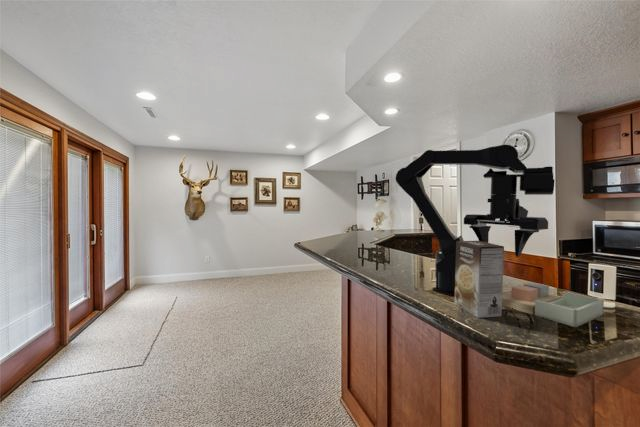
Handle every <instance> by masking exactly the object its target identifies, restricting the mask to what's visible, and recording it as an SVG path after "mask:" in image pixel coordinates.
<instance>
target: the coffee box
mask: <svg viewBox="0 0 640 427" xmlns="http://www.w3.org/2000/svg"><path fill="white" fill-rule="evenodd" d="M504 251H505V246H504V245H501V244H500V245H499V244H496V243H495V244H494V243H490V242H488V243H487V242H482V241H479V240H464V241H456V268H455V295H454V302H453V303H454V305H455V306H456V307H459V308H461V309H462V310H464V311H466V312H467V313H469V314H471V315H472V316H474V317H475V318H478V319H479V318H494V317H495V318H496V317H502V310H503V308H502V307H503V306H502V293H503V287H504V286H503V282H504V257H505V252H504Z"/></svg>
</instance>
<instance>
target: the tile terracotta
mask: <svg viewBox="0 0 640 427" xmlns="http://www.w3.org/2000/svg"><path fill="white" fill-rule="evenodd" d="M511 291H512V293H511V297H513V298H517V299H521V300H525V301H528V302H530V301H533V300H536V299H538V289H536V288H532V287H527V286H523V284H519V285H515V286H511Z"/></svg>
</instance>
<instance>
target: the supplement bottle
mask: <svg viewBox="0 0 640 427" xmlns="http://www.w3.org/2000/svg"><path fill="white" fill-rule="evenodd" d="M438 249H439V250H436V252H435V263H434V264H435V266H434V268H435V269H434V276H435V278H436V264H437V263H438V262H439V261H440V260H441V259H442V258H444V257H443V254H442V252H441V248H440V245H439V244H438Z"/></svg>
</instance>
